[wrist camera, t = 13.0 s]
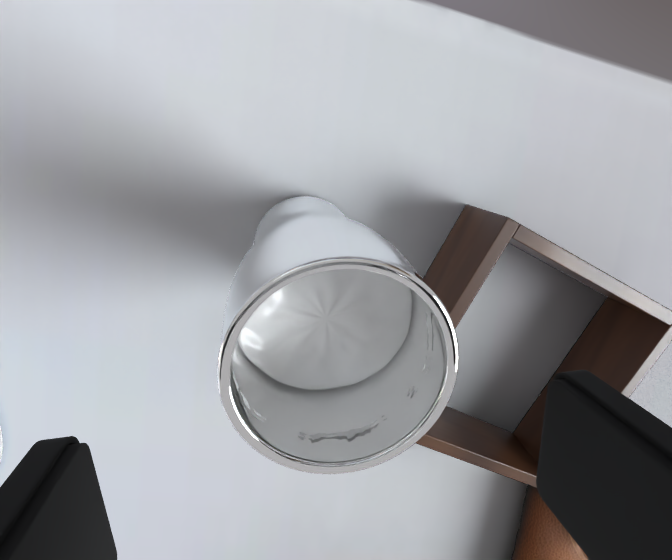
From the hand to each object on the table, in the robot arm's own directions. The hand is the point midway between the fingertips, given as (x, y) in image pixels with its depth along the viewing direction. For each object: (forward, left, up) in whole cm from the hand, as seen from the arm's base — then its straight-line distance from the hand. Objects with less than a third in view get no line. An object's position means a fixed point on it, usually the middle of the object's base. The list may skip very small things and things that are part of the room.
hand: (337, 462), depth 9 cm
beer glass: (0, +1, -18) cm, 18 cm away
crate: (+15, 0, -18) cm, 23 cm away
